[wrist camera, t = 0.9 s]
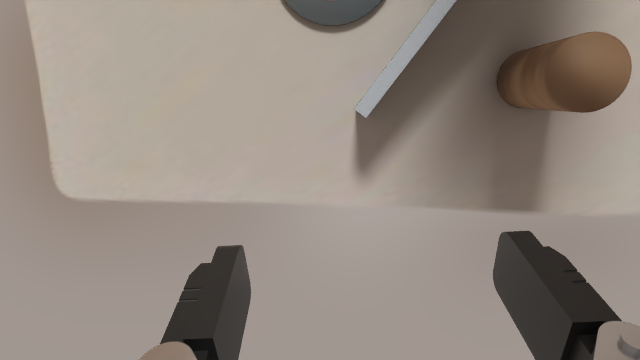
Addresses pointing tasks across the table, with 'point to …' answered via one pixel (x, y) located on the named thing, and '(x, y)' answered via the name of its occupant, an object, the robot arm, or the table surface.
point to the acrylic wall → (404, 56)
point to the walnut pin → (567, 74)
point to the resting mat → (332, 10)
